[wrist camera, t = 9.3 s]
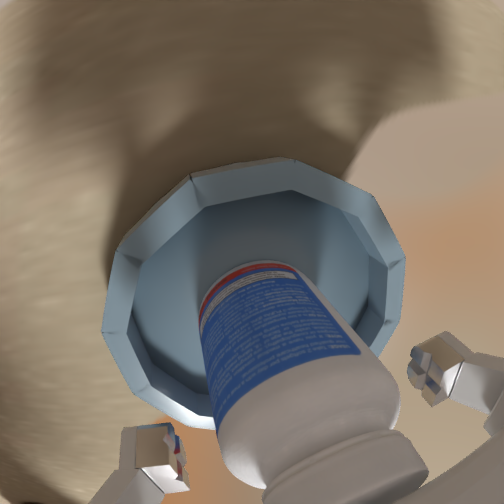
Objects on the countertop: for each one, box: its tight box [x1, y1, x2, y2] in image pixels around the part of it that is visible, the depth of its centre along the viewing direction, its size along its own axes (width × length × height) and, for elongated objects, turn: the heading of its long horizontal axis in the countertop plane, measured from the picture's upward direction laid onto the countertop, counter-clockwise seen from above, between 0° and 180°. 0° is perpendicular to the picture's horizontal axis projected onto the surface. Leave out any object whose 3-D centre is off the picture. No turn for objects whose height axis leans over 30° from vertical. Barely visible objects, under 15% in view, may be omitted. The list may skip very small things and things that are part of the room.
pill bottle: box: [198, 260, 429, 504], centre depth 9 cm, size 6×5×10 cm
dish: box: [101, 157, 406, 430], centre depth 13 cm, size 13×13×2 cm
